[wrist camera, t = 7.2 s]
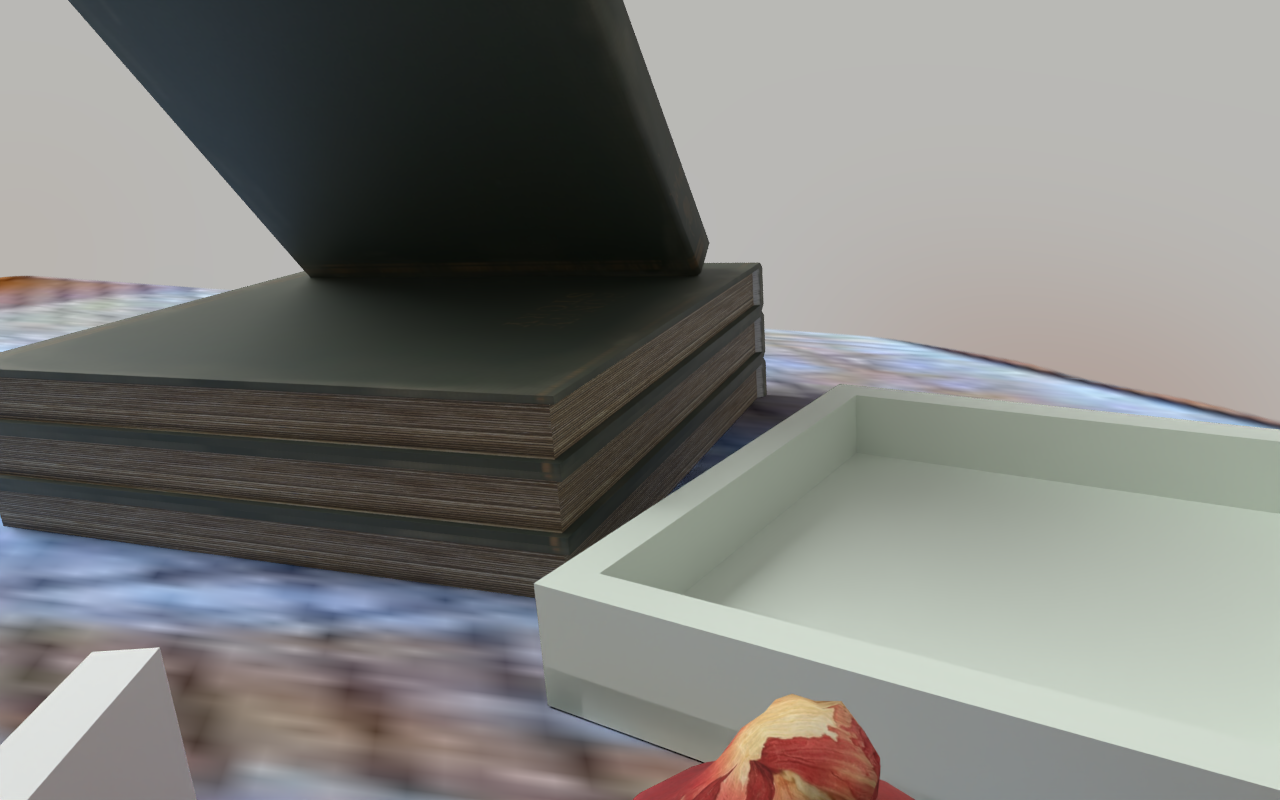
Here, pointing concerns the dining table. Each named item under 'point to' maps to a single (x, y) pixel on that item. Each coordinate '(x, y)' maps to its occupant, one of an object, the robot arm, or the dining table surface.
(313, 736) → the dining table surface
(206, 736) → the dining table surface
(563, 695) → the tray
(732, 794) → the onion
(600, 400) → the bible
